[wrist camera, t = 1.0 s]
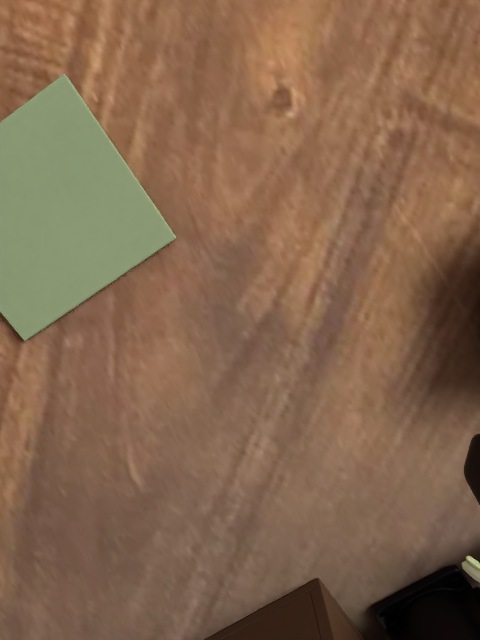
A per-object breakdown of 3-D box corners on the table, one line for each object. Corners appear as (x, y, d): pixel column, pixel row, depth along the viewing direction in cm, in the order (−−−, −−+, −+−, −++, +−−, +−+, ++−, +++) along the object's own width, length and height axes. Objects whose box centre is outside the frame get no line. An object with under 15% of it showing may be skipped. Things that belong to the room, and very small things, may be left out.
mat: (28, 338, 22) (24, 341, 21) (-90, 196, 20) (-98, 195, 19) (177, 238, 21) (176, 238, 20) (67, 77, 19) (63, 73, 18)
